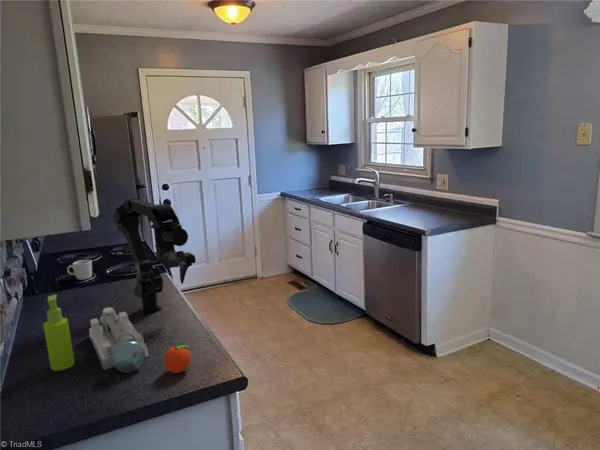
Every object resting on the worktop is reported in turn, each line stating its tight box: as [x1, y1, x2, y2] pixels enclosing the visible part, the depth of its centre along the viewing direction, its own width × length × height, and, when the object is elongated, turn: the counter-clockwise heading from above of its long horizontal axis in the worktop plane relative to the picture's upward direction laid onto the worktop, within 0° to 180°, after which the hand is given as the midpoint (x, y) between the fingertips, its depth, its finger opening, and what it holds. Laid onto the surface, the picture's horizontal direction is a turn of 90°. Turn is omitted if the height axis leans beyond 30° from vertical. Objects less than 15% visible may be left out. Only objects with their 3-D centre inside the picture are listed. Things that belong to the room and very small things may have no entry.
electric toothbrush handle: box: [99, 307, 133, 343], centre depth 130 cm, size 5×7×25 cm
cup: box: [66, 259, 93, 281], centre depth 200 cm, size 11×8×8 cm
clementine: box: [163, 344, 193, 374], centre depth 115 cm, size 8×7×7 cm
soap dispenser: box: [43, 294, 75, 372], centre depth 120 cm, size 6×7×20 cm
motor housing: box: [88, 311, 149, 374], centre depth 128 cm, size 31×12×8 cm, turn 33°
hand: (168, 286), depth 148 cm, fingers open, 9 cm apart
